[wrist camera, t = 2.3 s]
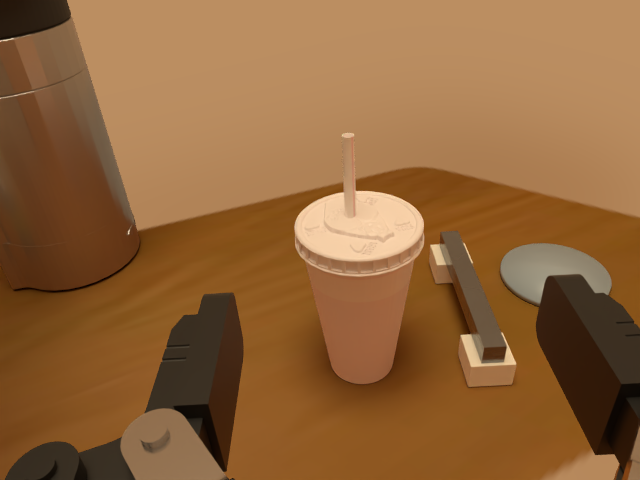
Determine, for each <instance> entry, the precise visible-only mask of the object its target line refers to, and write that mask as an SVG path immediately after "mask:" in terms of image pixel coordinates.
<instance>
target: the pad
mask: <svg viewBox="0 0 640 480" xmlns="http://www.w3.org/2000/svg"><path fill="white" fill-rule="evenodd" d="M568 274H581V275H582V276H583V277H584V278H585V279H586V281H587V282H588V284H589V285H590V286H591V288H592V289H593V291H594V292H595V293H605V294H606V295H609V292H610V289H611V278H610V276H609V273H608V272H607V270H606V269H605V268H604V267H603V266H602V265H601V264H600V263H599V262H598V261H596V260H595V259H594V258H592V257H590V256H589V255H587V254H585V253H583V252H580V251H578V250H575V249H572V248H569V247H565V246H561V245H555V244H543V243H539V244H528V245H523V246H520V247H517V248H515V249H513V250H511V251H510V252H508V253H507V254H506V255H505V256H504V258H503V260H502V262H501V267H500V275H501V278H502V281H503V282H504V284H505V285H506V287H507V288H508V289H509V290H510V291H511V292H512V293H514V294H515V295H516V296H518V297H519V298H521V299H523V300H524V301H526V302H528V303H530V304H533V305H536V306H538V307H539V306H540V302H541V297H542V293H543V288H544V284H545V280H546V278H547V277H548V276H550V275H568Z"/></svg>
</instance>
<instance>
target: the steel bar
mask: <svg viewBox="0 0 640 480" xmlns="http://www.w3.org/2000/svg"><path fill="white" fill-rule="evenodd" d="M440 249H441V252H442V254H443V257H444V260H445V263H446V266H447V268H448V271H449V274H450V277H451V280H452V282H453V285H454V288H455V291H456V294H457V296H458V299H459V302H460V305H461V308H462V310H463V313H464V316H465V319H466V322H467V324H468V327H469V330H470V333H471V336H472V338H473V341H474V344H475V347H476V350H477V352H478V355H479V358H480V361H481V364H482V363H500V362H504V359H505V354H506V349H507V345H506V343H505V340H504V338H503V336H502V333H501V331H500V329H499V326H498V324H497V322H496V319H495V317H494V314H493V312H492V310H491V307H490V305H489V303H488V300H487V298H486V296H485V293H484V291H483V289H482V286H481V284H480V282H479V279H478V277H477V275H476V272H475V270H474V267H473V265H472V263H471V260H470V258H469V256H468V253H467V251H466V249H465V246H464V244H463V242H462V239H461V237H460V235H459V232H458V231H449V232H441V234H440Z"/></svg>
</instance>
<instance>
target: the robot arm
mask: <svg viewBox="0 0 640 480" xmlns="http://www.w3.org/2000/svg"><path fill="white" fill-rule="evenodd" d="M70 15H71V12H70V10H69V6H68V3H67V0H0V266H1V268H2V270H3V272H4V274H5V275H6V277H7V279H8V281H9V283H10V285H11V287H12V289H19V288H25V287H31V288H36V289H40V290H52V291H56V290H67V289H72V288H77V287H82V286H85V285H88V284H91V283H94V282H97V281H99V280H101V279H103V278H105V277H108V276H110V275H111V274H113V273H115V272H116V271H118V270H119V269H121V268H122V267H123V266H124V265H126V264H127V263H128V262H129V261H130V260H131V259H132V258H133V257H134V255H135V254H136V252H137V250H138V248H139V244H140V239H139V235H138V232H137V228H136V225H135V220H134V216H133V214H132V212H131V209H130V205H129V202H128V199H127V195H126V192H125V189H124V185H123V182H122V179H121V175H120V172H119V169H118V166H117V162H116V159H115V156H114V153H113V149H112V146H111V143H110V140H109V136H108V133H107V130H106V127H105V123H104V120H103V117H102V114H101V110H100V107H99V104H98V100H97V97H96V94H95V91H94V87H93V84H92V81H91V77H90V74H89V71H88V68H87V64H86V62H85V58H84V55H83V52H82V48H81V45H80V42H79V38H78V35H77V32H76V29H75V25H74V22H73V19H72V17H71V16H70ZM536 332H537V338H538V341H539V344H540V346H541V348H542V350H543V352H544V354H545V356H546V358H547V360H548V362H549V364H550V366H551V368H552V370H553V372H554V374H555V376H556V378H557V380H558V382H559V384H560V386H561V388H562V390H563V392H564V394H565V396H566V398H567V400H568V402H569V404H570V406H571V408H572V410H573V412H574V414H575V416H576V418H577V420H578V422H579V424H580V426H581V428H582V430H583V432H584V434H585V436H586V438H587V440H588V442H589V444H590V446H591V448H592V450H593V451H594V453H595V455H606V454H615V456H616V458H617V460H618V462H619V463H620V464H619V466H618V469H617V471H616V474H615V478H614V480H640V329H639V327H638V326H637V325H636V324H634V321H633V319H632V318H631V317H630V315H629V314H628V313H627V311H626V310H625V309H624V307H623V306H622V305H621V304H619V303H618V302H616V301H615V300H613V299H612V298H611V297H609V296H608V295H606V294H605V293H595V292H594V291H593V289H592V288H591V286H590V285H589V284H588V282H587V281H586V279H585V278H584V277H583V276H582V275H581V274H568V275H550V276H548V277H547V278H546V280H545V284H544V288H543V293H542V297H541V302H540V306H539V311H538V316H537V321H536ZM242 363H243V337H242V331H241V326H240V321H239V316H238V311H237V306H236V300H235V296H234V294H233V293H218V294H204V295H203V298H202V301H201V305H200V308H199V312H198V314H196V315H184V316H183V317H182V318H181V319H180V321H179V322H178V323H177V324H176V325H175V326H174V328H173V329H172V330H171V333H170V336H169V339H168V343H167V349H165V352H164V355H163V358H162V362H161V364H160V367H159V371H158V374H157V377H156V380H155V383H154V386H153V389H152V392H151V395H150V399H149V402H148V405H147V408H146V411H145V413H144V414H143V415H141V416H139V417H138V418H136V419H135V420H134V421H133V422H132V423H131V424H130V425H129V426H128V427H127V429H126V430H125V432H124V434H123V436H122V437H121V438H119V439H117V440H115V441H112V442H110V443H107V444H104V445H101V446H98V447H95V448H92V449H89V450H86V451H83V452H80V453H78V452H77V450H76V449H75V448H74V446H72V445H71V444H69V443H66V442H50V443H46V444H42V445H40V446H38V447H35V448H34V449H32V450H30V451H29V452H27V453H26V454H24V455H23V456H22V457H21V458H20V459H19V460H18V461H17V462H16V463H15V464H14V465H13V466H12V468H11V469H10V470H9V472H8V474H7V476H6V478H5V480H229V479H228V478H227V477H226V475H225V474H224V472H226V471H227V464H228V458H229V451H230V444H231V437H232V430H233V424H234V417H235V410H236V403H237V397H238V390H239V383H240V376H241V369H242ZM230 480H235V479H233V478H232V479H230Z"/></svg>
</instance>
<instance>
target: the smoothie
mask: <svg viewBox="0 0 640 480" xmlns="http://www.w3.org/2000/svg"><path fill="white" fill-rule="evenodd" d="M354 152H355V151H354V134H352V133H344V134H342V153H343V176H344V177H343V180H344V193H338V194H334V195H330V196H327V197H324V198H322V199H319V200H317V201H315V202H314V203H312V204H310V205H309V206H307V207H306V208H305V209H304V210H303V211H302V212H301V213H300V214H299V216H298V217H297V219H296V222H295V235H296V236H295V247H296V249H297V251H298V253H299V255H300V257H301V258H302V259H304V260H305V262H306V266H307V271H308V275H309V278H310V282H311V286H312V290H313V294H314V298H315V302H316V306H317V310H318V314H319V318H320V322H321V326H322V330H323V334H324V339H325V343H326V347H327V351H328V355H329V359H330V363H331V366H332V369H333V371H334V372H335V373H336V374H337V375H338V376H339V377H340V378H342V379H343V380H345V381H347V382H350V383H354V384H370V383H374V382H377V381H379V380H381V379H382V378H384V377H385V376H386V375H387V374H388V373H389V372H390V370H391V368H392V365H393V361H394V356H395V351H396V346H397V341H398V336H399V331H400V326H401V321H402V316H403V312H404V307H405V302H406V297H407V292H408V287H409V282H410V277H411V274H412V268H413V263H414V259H415V258H416V257H417V256H418V255H419V253H420V252H421V250H422V248H423V246H424V234H423V229H424V223H423V219H422V216H421V215H420V213H419V212H418V211H417V209H416V208H414V207H413V206H412V205H411V204H409V203H408V202H406V201H404V200H402V199H400V198H398V197H395V196H392V195H388V194H384V193H379V192H371V191H356V190H355V155H354V154H355V153H354Z"/></svg>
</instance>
